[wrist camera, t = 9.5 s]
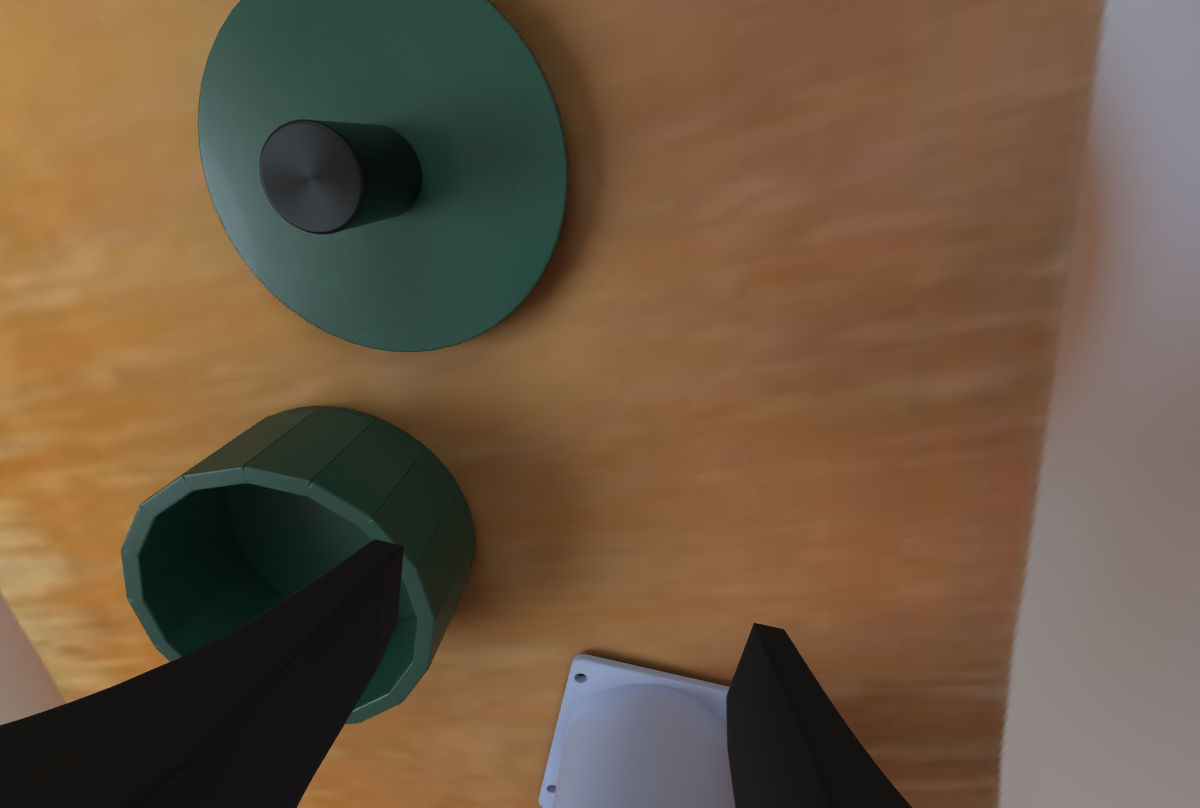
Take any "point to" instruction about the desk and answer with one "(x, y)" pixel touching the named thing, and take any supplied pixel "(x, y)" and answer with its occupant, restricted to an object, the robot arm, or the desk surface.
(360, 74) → the lid
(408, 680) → the pot
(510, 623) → the desk surface
